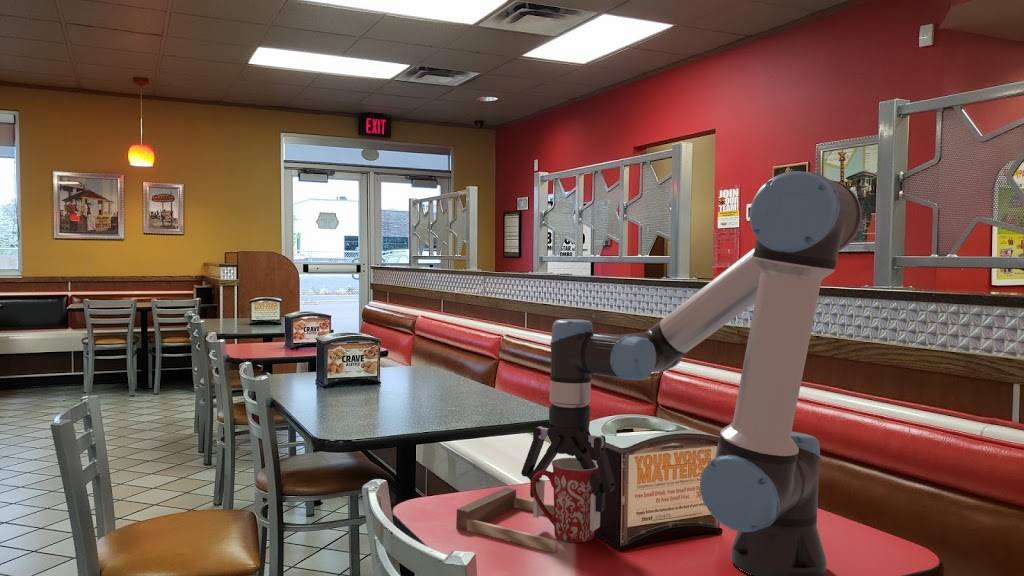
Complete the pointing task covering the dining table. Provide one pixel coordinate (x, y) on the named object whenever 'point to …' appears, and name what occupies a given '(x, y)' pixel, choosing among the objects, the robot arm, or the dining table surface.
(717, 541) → the dining table surface
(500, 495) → the channel
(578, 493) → the mug
